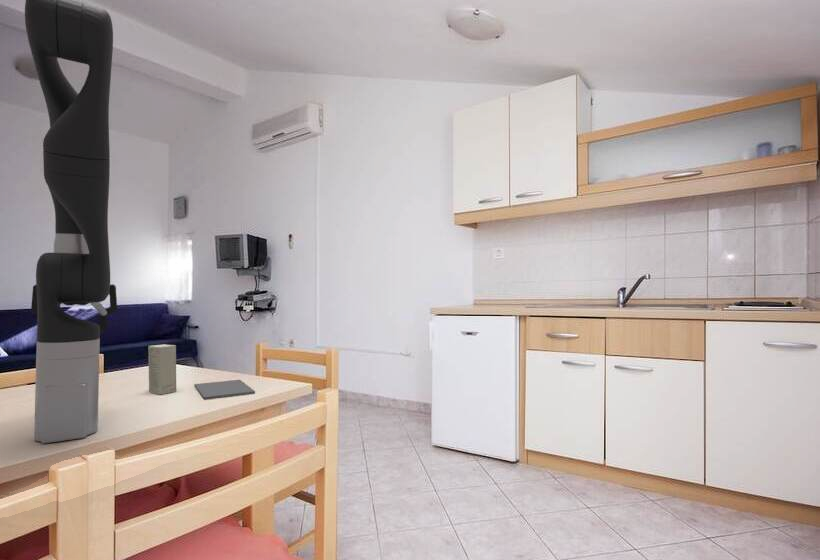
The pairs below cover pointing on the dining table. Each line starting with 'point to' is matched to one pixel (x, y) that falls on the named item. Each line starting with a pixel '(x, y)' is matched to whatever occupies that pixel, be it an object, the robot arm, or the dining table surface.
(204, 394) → the mat
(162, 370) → the skincare box
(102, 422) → the dining table surface
